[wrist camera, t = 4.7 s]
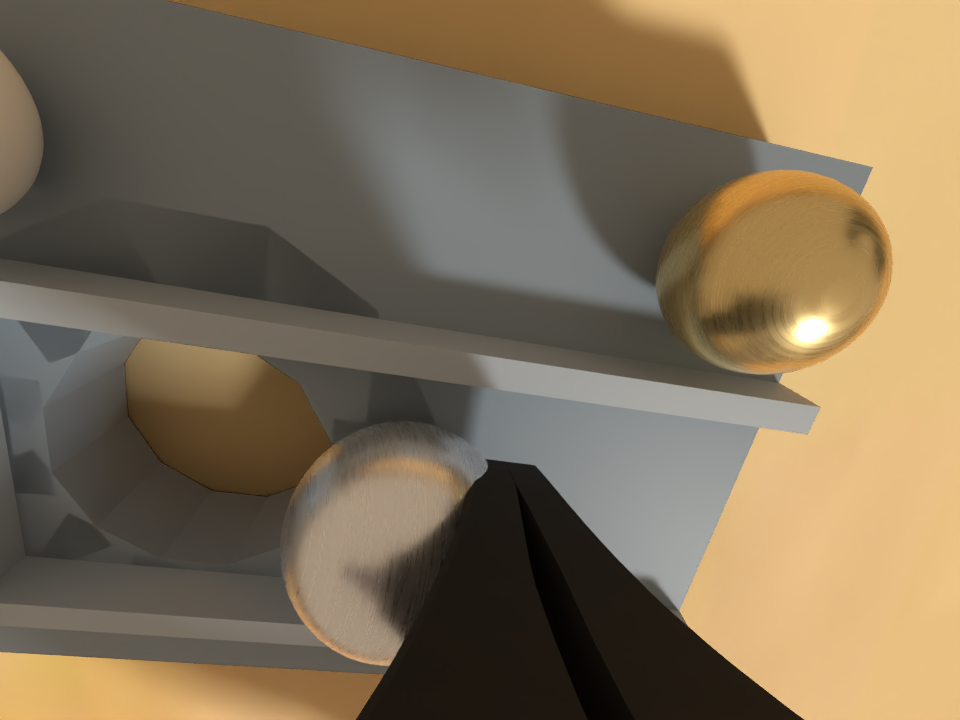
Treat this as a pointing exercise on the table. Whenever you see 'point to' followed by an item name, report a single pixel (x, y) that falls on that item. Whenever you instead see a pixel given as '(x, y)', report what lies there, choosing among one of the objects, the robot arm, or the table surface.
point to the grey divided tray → (337, 309)
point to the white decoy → (17, 136)
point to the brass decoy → (774, 272)
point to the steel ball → (374, 533)
